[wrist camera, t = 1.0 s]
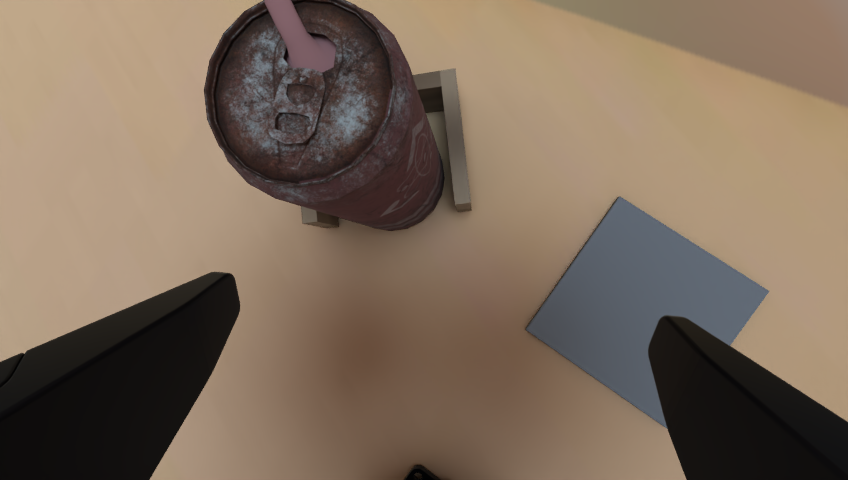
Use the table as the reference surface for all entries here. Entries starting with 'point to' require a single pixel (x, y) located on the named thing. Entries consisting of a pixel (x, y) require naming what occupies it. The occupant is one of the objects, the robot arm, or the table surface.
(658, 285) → the mat
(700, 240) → the table surface
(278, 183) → the can
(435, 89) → the bracket
